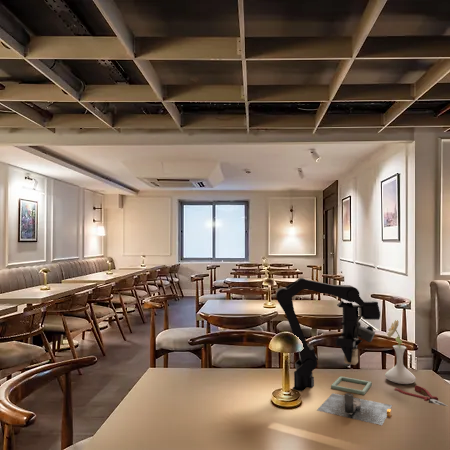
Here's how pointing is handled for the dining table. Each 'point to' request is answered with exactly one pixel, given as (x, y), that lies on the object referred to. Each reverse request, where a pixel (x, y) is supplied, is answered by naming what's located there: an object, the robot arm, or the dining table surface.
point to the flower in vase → (399, 362)
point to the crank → (351, 403)
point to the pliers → (425, 392)
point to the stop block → (354, 357)
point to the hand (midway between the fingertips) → (351, 360)
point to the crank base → (367, 412)
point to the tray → (367, 383)
